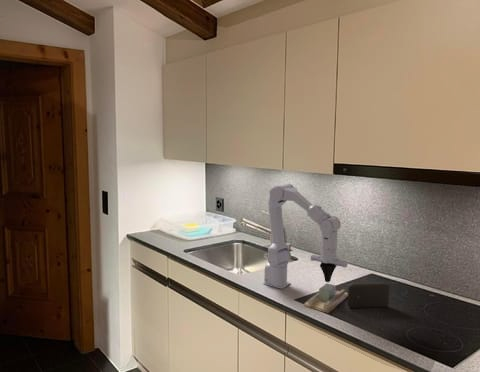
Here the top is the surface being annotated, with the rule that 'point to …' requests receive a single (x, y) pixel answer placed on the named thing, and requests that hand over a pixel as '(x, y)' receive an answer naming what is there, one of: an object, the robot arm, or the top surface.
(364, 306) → the leaning round-cornered charcoal block
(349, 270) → the top surface
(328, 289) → the module
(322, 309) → the rail board
